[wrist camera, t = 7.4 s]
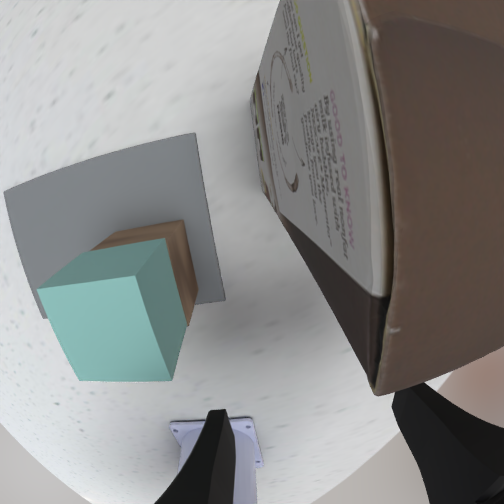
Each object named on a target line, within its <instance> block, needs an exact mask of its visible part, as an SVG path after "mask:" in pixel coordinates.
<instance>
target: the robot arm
mask: <svg viewBox="0 0 504 504" xmlns="http://www.w3.org/2000/svg"><path fill="white" fill-rule="evenodd" d="M392 410H393V413H394V415H395V418H396V421H397V424H398V426H399V428H400V430H401V432H402V434H403V436H404V438H405V440H406V442H407V444H408V446H409V448H410V450H411V452H412V454H413V456H414V458H415V460H416V462H417V464H418V467H419V469H420V472H421V475H422V478H423V481H424V484H425V487H426V491H427V495H428V498H429V503H430V504H504V428H501V427H499V426H496V425H493V424H490V423H488V422H486V421H483V420H481V419H479V418H477V417H475V416H473V415H471V414H469V413H468V412H466V411H464V410H463V409H461V408H459V407H458V406H456V405H454V404H452V403H451V402H450V401H449V400H447V399H446V398H444V397H443V396H441V395H440V394H439V393H437V392H436V391H435V390H433V389H432V388H431V387H429V386H428V385H427V384H426V383H424V382H423V383H420V384H417V385H414V386H412V387H409V388H406V389H403V390H400V391H396V392H395V395H394V399H393V403H392ZM248 425H249V426H248ZM169 428H170V429H171V431H172V433H173V435H174V437H175V438H176V440H177V442H178V444H179V445H180V447H181V453H180V460H179V466H178V473H177V476H176V478H175V479H174V480H173V482H172V483H171V484H170V486H169V487H168V488H167V490H166V491H165V492H164V493H163V494H162V495H161V497H160V498H159V499H158V500H157V501H156V502H155V503H154V504H257V488H256V470H255V468H260V467H263V466H264V463H263V459H262V455H261V451H260V447H259V443H258V440H257V436H256V432H255V428H254V424H253V420H252V419H250V418H242V419H231V420H229V418H228V415H227V412H226V409H221V410H210V411H209V412H208V415H207V418H206V421H199V422H171V423H170V425H169Z"/></svg>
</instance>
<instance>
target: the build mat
mask: <svg viewBox="0 0 504 504" xmlns="http://www.w3.org/2000/svg"><path fill="white" fill-rule="evenodd" d="M4 197H5V202H6V207H7V211H8V216H9V220H10V224H11V228H12V231H13V235H14V239H15V242H16V246H17V249H18V252H19V256H20V259H21V262H22V265H23V268H24V271H25V274H26V277H27V280H28V282H29V285H30V288H31V290H32V293H33V296H34V298H35V301H36V303H37V306H38V308H39V310H40V313H41V315H42V317H43V319H46V318H48V317H47V314H46V312H45V310H44V307H43V305H42V302H41V300H40V297H39V295H38V292H37V288H38V287H40V286H41V285H42V284H43V283H44V282H46V281H47V280H48V279H49V278H51V277H52V276H53V275H54V274H56V273H57V272H58V271H59V270H61V269H62V268H63V267H64V266H66V265H67V264H68V263H70V262H71V261H72V260H74V259H75V258H76V257H77V256H79V255H80V254H81V253H83V252H88V251H90V250H91V249H93V248H94V247H95V246H97V245H98V244H99V243H101V242H102V241H103V240H105V239H106V238H107V237H109V236H110V235H111V234H113V233H114V232H117V231H122V230H127V229H133V228H138V227H143V226H149V225H154V224H160V223H165V222H171V221H177V220H183V219H184V224H185V229H186V234H187V239H188V244H189V248H190V253H191V257H192V262H193V267H194V271H195V275H196V280H197V284H198V288H199V290H198V294H197V297H196V301H195V305H196V304H204V303H212V302H219V301H225V294H224V289H223V284H222V279H221V274H220V269H219V264H218V259H217V254H216V249H215V244H214V238H213V233H212V228H211V222H210V217H209V211H208V206H207V200H206V195H205V189H204V183H203V177H202V171H201V165H200V159H199V153H198V147H197V141H196V134H195V133H190V134H185V135H181V136H176V137H171V138H167V139H162V140H158V141H154V142H150V143H146V144H142V145H138V146H134V147H130V148H126V149H123V150H119V151H115V152H112V153H109V154H105V155H102V156H98V157H95V158H92V159H89V160H86V161H83V162H80V163H77V164H74V165H71V166H68V167H65V168H62V169H59V170H56V171H54V172H51V173H48V174H46V175H43V176H40V177H38V178H35V179H33V180H30V181H28V182H25V183H23V184H20V185H18V186H16V187H13V188H11V189H9V190H6V191H4Z"/></svg>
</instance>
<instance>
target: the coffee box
mask: <svg viewBox="0 0 504 504" xmlns="http://www.w3.org/2000/svg"><path fill="white" fill-rule="evenodd" d="M250 103H251V111H252V119H253V127H254V134H255V142H256V150H257V158H258V166H259V173H260V179H261V185H262V190H263V192H264V194H265V196H266V197H267V199H268V200H269V202H270V203H271V205H272V207H273V209H274V210H275V212H276V213H277V215H278V217H279V219H280V220H281V222H282V224H283V226H284V227H285V229H286V230H287V232H288V233H289V235H290V237H291V239H292V241H293V242H294V244H295V246H296V247H297V249H298V251H299V252H300V254H301V256H302V258H303V259H304V261H305V263H306V265H307V266H308V268H309V270H310V272H311V273H312V275H313V277H314V279H315V280H316V282H317V284H318V286H319V287H320V289H321V291H322V293H323V295H324V296H325V298H326V300H327V302H328V304H329V306H330V307H331V309H332V311H333V313H334V315H335V317H336V318H337V320H338V322H339V324H340V326H341V328H342V329H343V331H344V333H345V335H346V337H347V339H348V341H349V343H350V344H351V346H352V348H353V350H354V352H355V354H356V356H357V358H358V360H359V361H360V363H361V365H362V367H363V369H364V371H365V372H366V374H367V378H368V382H369V384H370V387H371V389H372V391H373V393H374V395H376V396H382V395H387V394H390V393H393V392H396V391H400V390H403V389H406V388H409V387H412V386H414V385H417V384H420V383H423V382H426V381H428V380H431V379H433V378H436V377H438V376H441V375H443V374H446V373H448V372H451V371H453V370H455V369H458V368H460V367H462V366H464V365H466V364H469V363H470V362H473V361H475V360H477V359H479V358H482V357H484V356H485V355H487V354H489V353H491V352H493V351H496V350H498V349H500V348H501V347H503V346H504V0H280V2H279V5H278V8H277V11H276V14H275V18H274V21H273V24H272V27H271V30H270V33H269V37H268V40H267V43H266V46H265V50H264V54H263V57H262V60H261V64H260V67H259V71H258V73H257V76H256V80H255V83H254V87H253V91H252V94H251V98H250Z"/></svg>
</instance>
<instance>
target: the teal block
mask: <svg viewBox="0 0 504 504" xmlns="http://www.w3.org/2000/svg"><path fill="white" fill-rule="evenodd" d="M37 292H38V295H39V297H40V300H41V302H42V305H43V307H44V310H45V312H46V314H47V317H48V319H49V321H50V324H51V326H52V328H53V330H54V332H55V335H56V337H57V339H58V341H59V343H60V345H61V347H62V349H63V351H64V353H65V355H66V357H67V359H68V361H69V363H70V365H71V366H72V368H73V370H74V372H75V374H76V376H77V377H78V379H79V381H99V382H154V381H172V379H173V375H174V371H175V367H176V364H177V360H178V356H179V352H180V348H181V345H182V341H183V337H184V334H185V330H186V326H187V321H186V318H185V314H184V311H183V307H182V304H181V300H180V296H179V293H178V289H177V285H176V281H175V277H174V273H173V269H172V265H171V261H170V257H169V253H168V249H167V244H166V240H165V238H161V239H155V240H150V241H144V242H138V243H132V244H127V245H121V246H116V247H110V248H105V249H99V250H94V251H88V252H83V253H81V254H80V255H79V256H77V257H76V258H75V259H74V260H72V261H71V262H70V263H68V264H67V265H66V266H64V267H63V268H62V269H61V270H59V271H58V272H57V273H56V274H54V275H53V276H52V277H51V278H49V279H48V280H47V281H46V282H44V283H43V284H42V285H41V286H40V287H38V288H37Z"/></svg>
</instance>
